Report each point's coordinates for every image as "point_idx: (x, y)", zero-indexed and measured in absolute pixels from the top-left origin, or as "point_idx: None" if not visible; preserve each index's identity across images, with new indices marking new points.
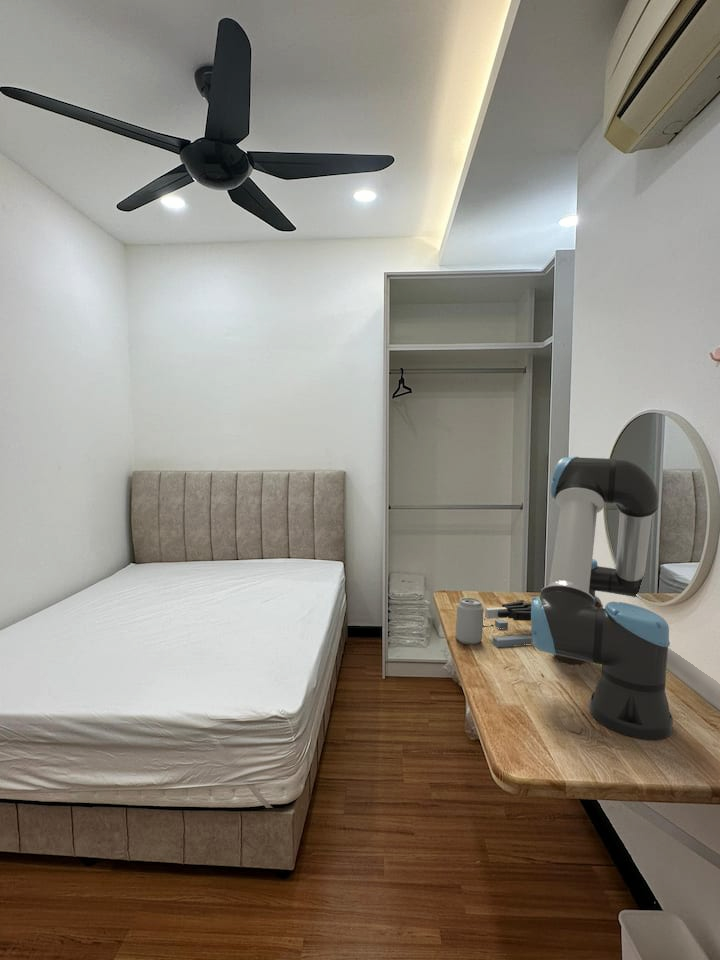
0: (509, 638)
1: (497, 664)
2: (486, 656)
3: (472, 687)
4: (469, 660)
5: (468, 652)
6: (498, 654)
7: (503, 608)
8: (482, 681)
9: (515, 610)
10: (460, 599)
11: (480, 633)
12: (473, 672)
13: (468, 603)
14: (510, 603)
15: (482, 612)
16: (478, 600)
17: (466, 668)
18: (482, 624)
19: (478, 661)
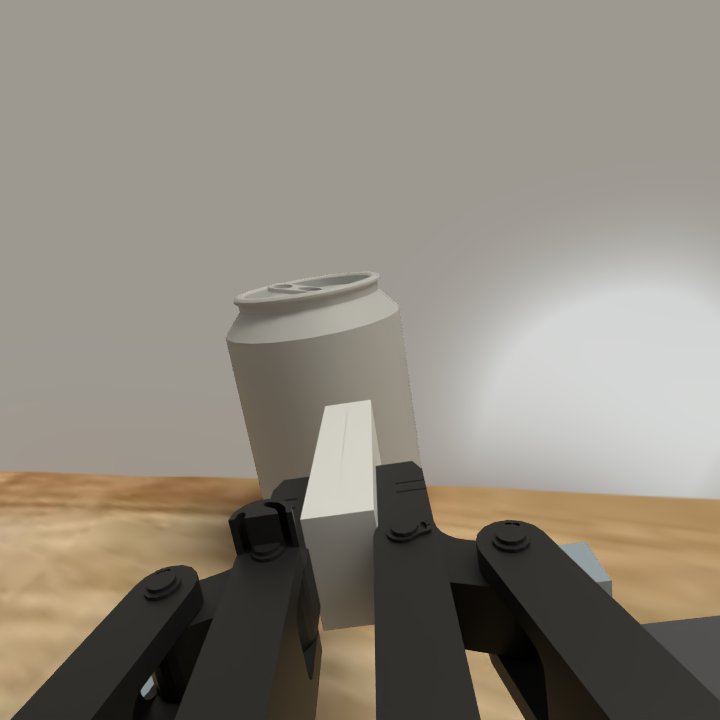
0: (147, 688)
1: (38, 567)
2: (137, 551)
3: (16, 474)
4: (156, 495)
5: (220, 504)
6: (109, 607)
7: (323, 489)
8: (9, 497)
9: (220, 612)
10: (344, 273)
11: (266, 498)
12: (75, 489)
13: (262, 287)
14: (653, 672)
15: (240, 369)
16: (304, 295)
17: (114, 479)
18: (274, 460)
19: (124, 515)
